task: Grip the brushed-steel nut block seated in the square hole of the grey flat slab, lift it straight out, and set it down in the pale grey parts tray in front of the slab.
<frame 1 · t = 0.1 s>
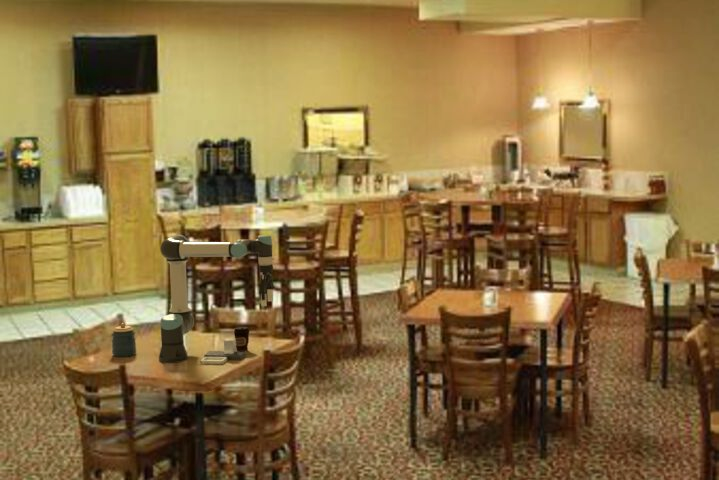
hand: (267, 303, 539), 28 cm above the table, fingers open, 13 cm apart
coffee cup: (242, 351, 552), on the table
nut block: (230, 357, 537), resting in grey flat slab
grey flat slab: (225, 357, 537), on the table
parts tray: (214, 362, 528), on the table
canister: (124, 355, 551), on the table
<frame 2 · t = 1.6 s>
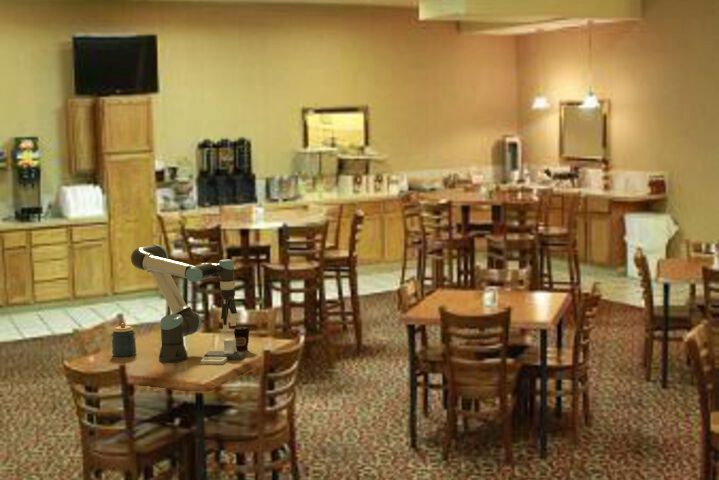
hand: (229, 328, 535), 16 cm above the table, fingers open, 13 cm apart
nothing on the table moved.
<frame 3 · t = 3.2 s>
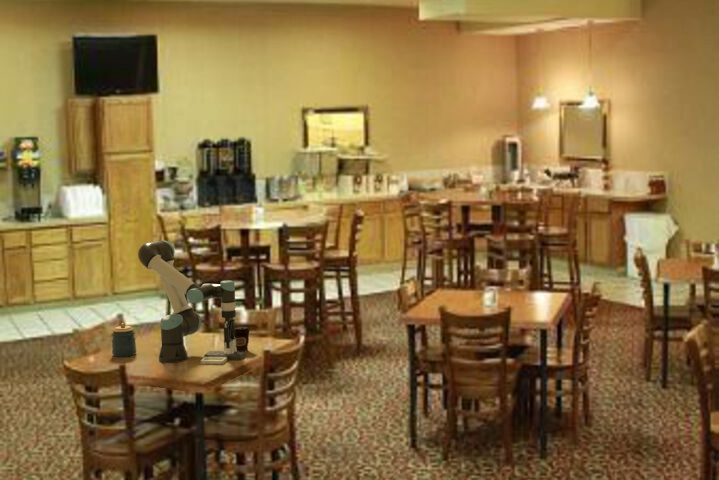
hand: (230, 352, 536), 3 cm above the table, fingers closed on nut block, 5 cm apart
nut block: (230, 357, 537), resting in grey flat slab, touching gripper
everything else where it was.
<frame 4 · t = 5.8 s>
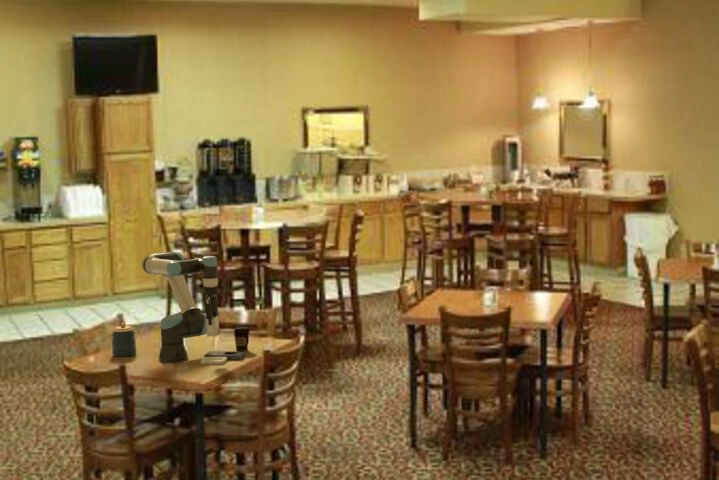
hand: (212, 329, 526), 17 cm above the table, fingers closed on nut block, 5 cm apart
nut block: (213, 335, 526), point 14 cm above the table, touching gripper
everything else where it was.
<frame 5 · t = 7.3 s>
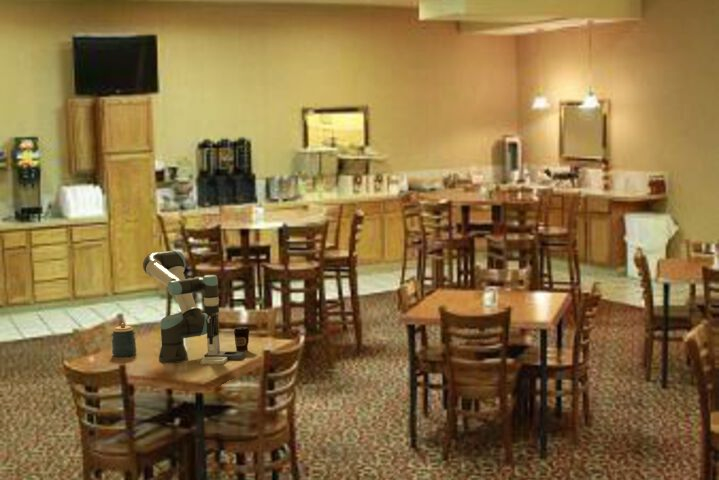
hand: (213, 348, 527), 7 cm above the table, fingers closed on nut block, 5 cm apart
nut block: (214, 354, 527), point 4 cm above the table, touching gripper
everything else where it was.
when the fingers open (4 cm above the table, at t = 8.3 s): nut block stays where it is, resting on parts tray.
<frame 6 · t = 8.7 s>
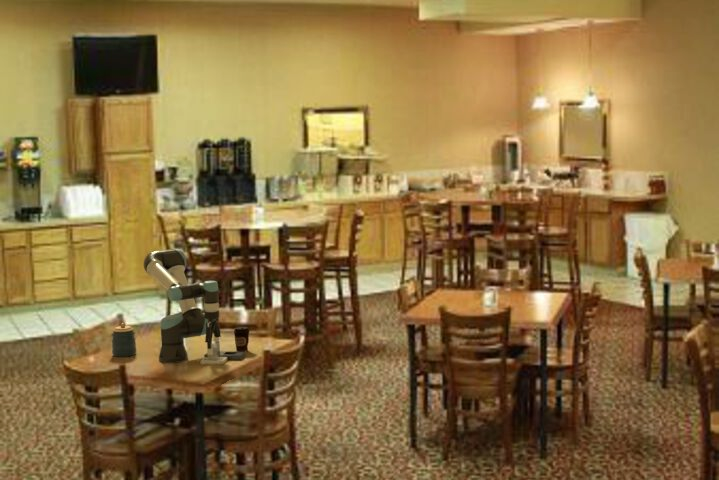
hand: (213, 351, 527), 5 cm above the table, fingers open, 11 cm apart
nut block: (214, 361, 528), point 1 cm above the table, touching parts tray
everything else where it was.
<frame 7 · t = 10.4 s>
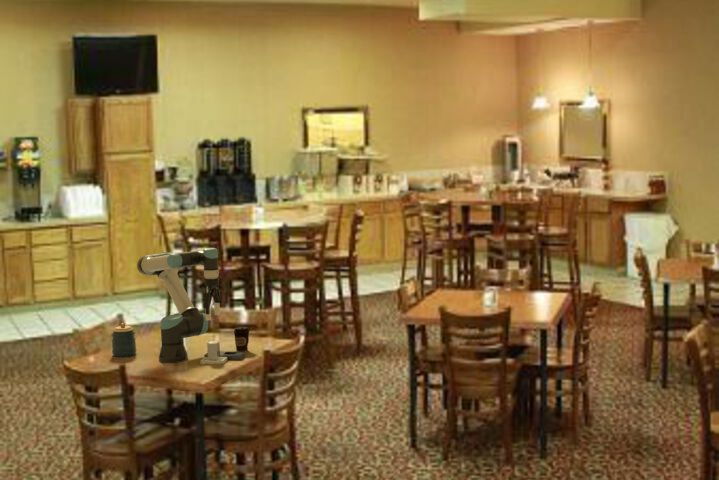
hand: (212, 317, 529), 23 cm above the table, fingers open, 13 cm apart
nothing on the table moved.
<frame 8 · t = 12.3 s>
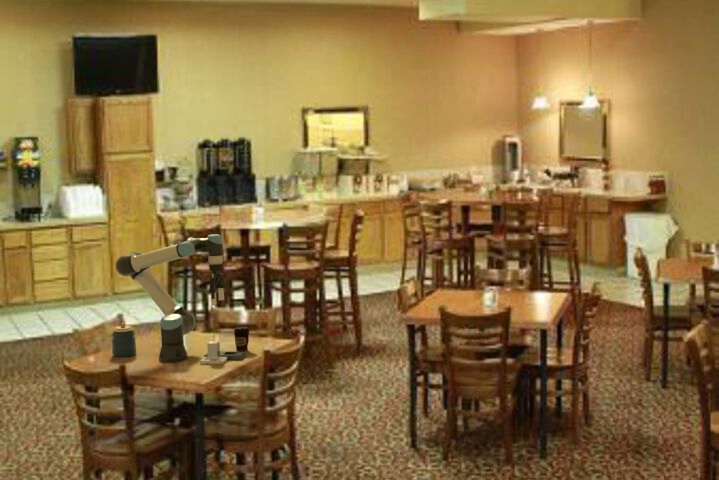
hand: (217, 302, 542), 29 cm above the table, fingers open, 13 cm apart
nothing on the table moved.
at the end: nut block inside the target area on the parts tray (0.1 cm from its centre), point 0.6 cm above the parts tray's base; nut block tilted 0°; the gripper is holding nothing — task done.
